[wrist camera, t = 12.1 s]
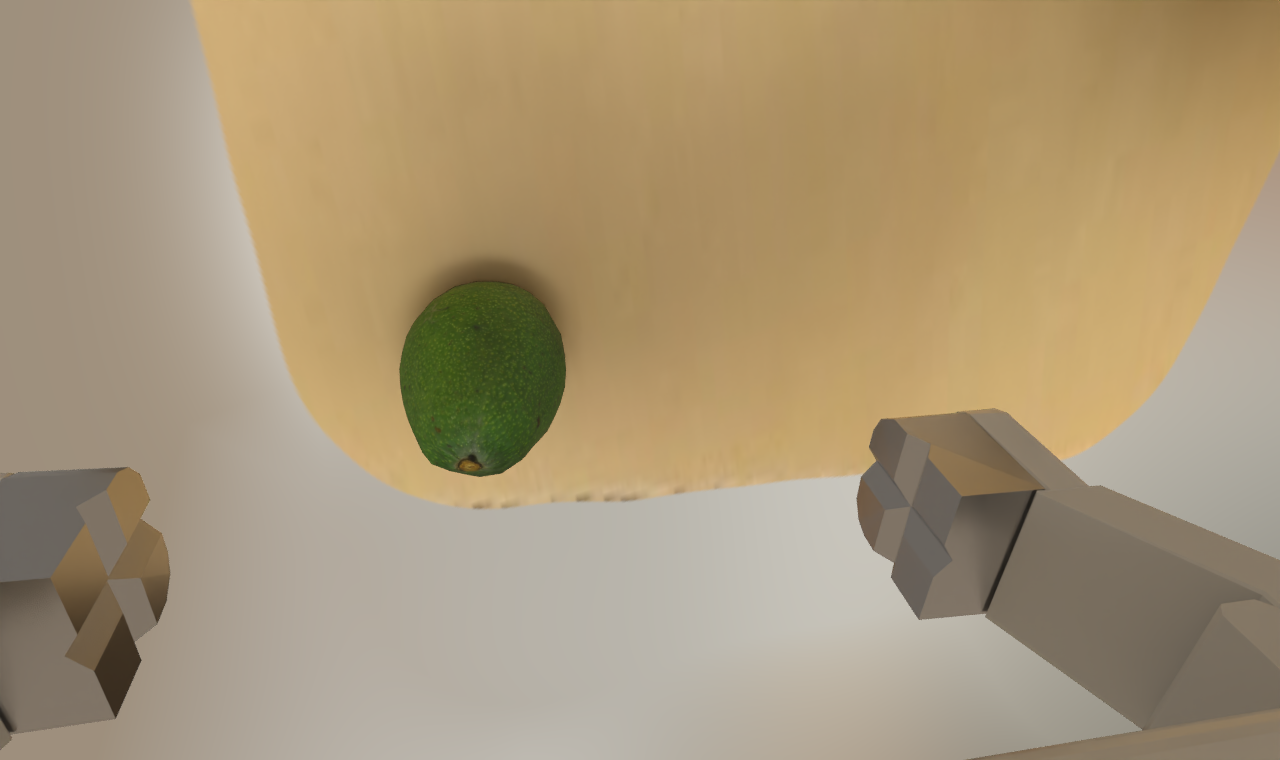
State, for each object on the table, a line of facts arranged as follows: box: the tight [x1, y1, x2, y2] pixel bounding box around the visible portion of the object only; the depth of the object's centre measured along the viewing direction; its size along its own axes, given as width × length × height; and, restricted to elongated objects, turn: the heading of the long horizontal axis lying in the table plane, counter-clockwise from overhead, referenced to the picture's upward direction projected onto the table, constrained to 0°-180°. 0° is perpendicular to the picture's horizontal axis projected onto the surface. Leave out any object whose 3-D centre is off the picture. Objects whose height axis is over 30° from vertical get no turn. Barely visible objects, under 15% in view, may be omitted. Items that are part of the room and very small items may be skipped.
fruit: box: [399, 282, 566, 477], centre depth 36 cm, size 8×8×12 cm
